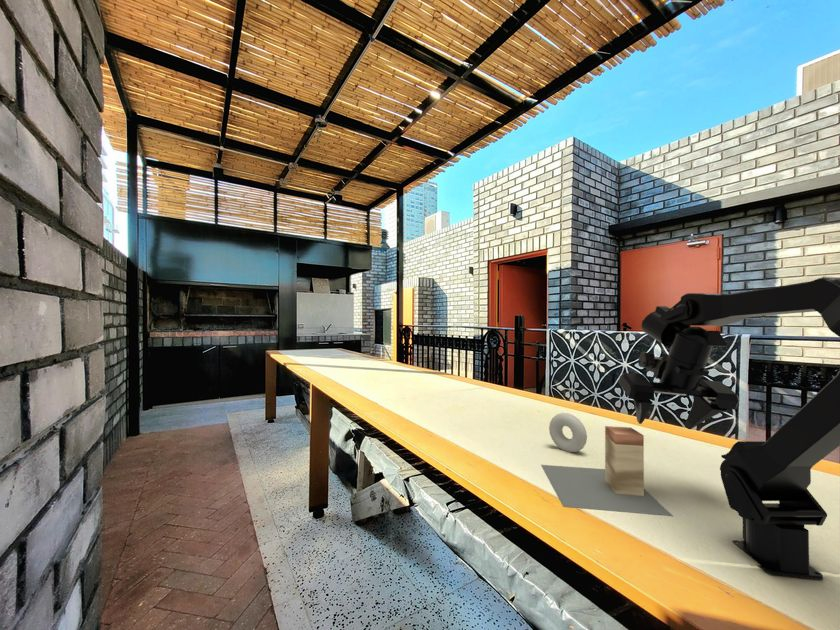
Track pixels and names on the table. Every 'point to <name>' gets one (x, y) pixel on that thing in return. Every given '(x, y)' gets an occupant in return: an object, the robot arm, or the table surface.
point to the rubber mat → (597, 492)
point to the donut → (576, 427)
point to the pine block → (624, 460)
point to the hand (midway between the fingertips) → (663, 425)
